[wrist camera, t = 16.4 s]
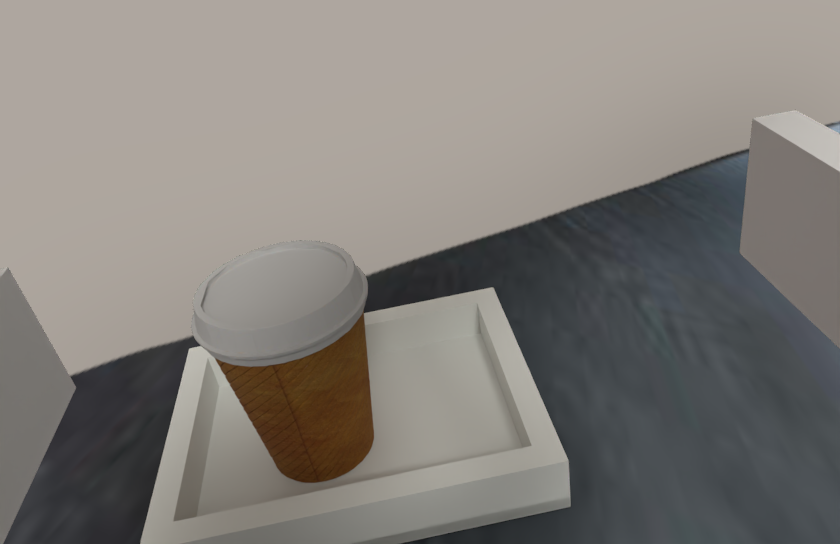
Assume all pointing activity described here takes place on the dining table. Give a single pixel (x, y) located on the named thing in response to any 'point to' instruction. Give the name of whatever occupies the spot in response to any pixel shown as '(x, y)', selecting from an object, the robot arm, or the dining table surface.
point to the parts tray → (374, 443)
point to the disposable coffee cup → (294, 352)
